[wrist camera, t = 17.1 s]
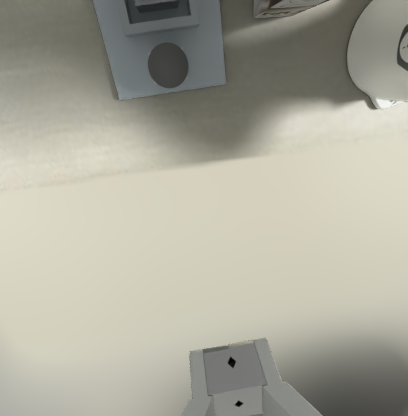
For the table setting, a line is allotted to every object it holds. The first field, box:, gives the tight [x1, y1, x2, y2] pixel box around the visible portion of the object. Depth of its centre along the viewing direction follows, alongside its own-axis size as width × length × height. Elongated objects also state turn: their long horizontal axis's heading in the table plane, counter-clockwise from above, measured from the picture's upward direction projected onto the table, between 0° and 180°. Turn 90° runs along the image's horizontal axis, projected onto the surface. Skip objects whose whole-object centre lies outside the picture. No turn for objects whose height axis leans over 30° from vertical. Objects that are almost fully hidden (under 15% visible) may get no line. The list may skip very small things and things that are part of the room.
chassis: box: [93, 0, 226, 100], centre depth 33 cm, size 16×20×5 cm
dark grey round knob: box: [148, 42, 189, 88], centre depth 35 cm, size 5×5×5 cm
